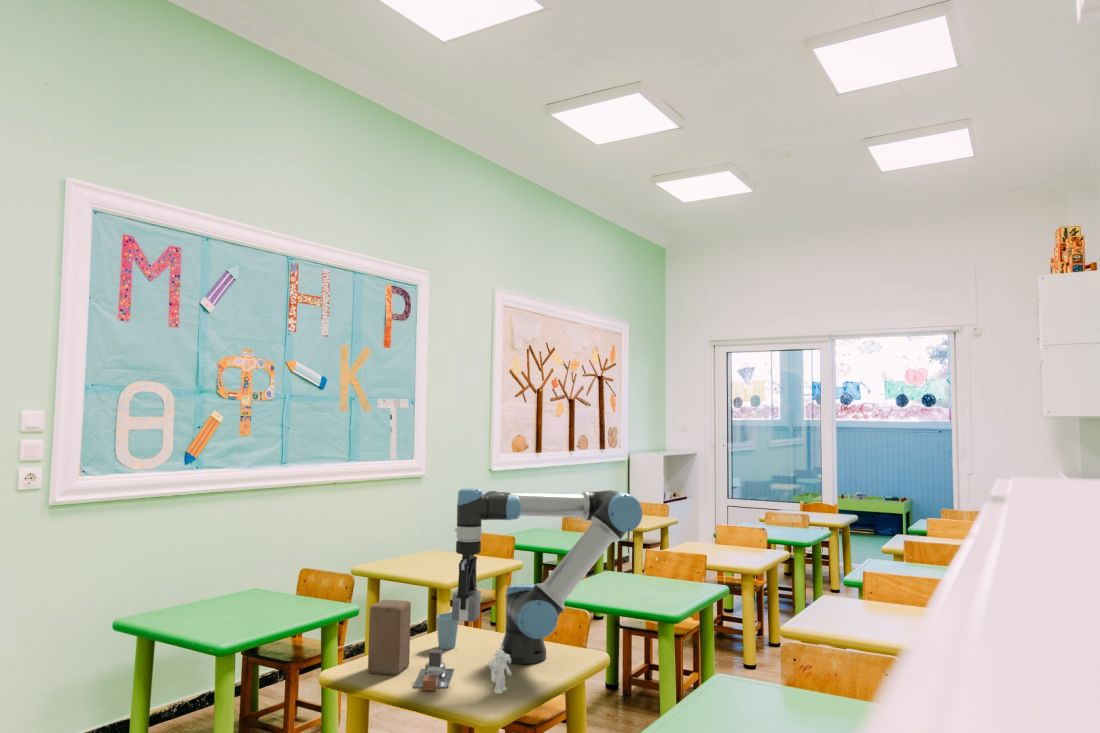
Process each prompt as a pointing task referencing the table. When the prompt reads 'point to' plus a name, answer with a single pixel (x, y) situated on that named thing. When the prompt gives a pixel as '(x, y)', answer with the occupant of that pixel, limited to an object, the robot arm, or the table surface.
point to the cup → (446, 631)
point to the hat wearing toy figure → (499, 669)
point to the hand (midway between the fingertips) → (466, 616)
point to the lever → (434, 673)
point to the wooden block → (389, 637)
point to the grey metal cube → (473, 606)
